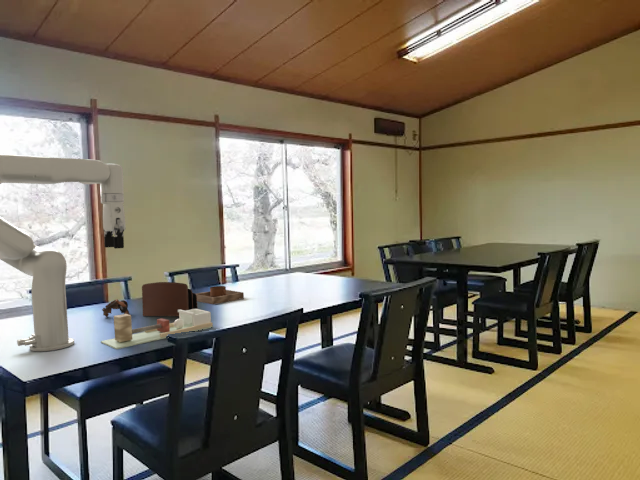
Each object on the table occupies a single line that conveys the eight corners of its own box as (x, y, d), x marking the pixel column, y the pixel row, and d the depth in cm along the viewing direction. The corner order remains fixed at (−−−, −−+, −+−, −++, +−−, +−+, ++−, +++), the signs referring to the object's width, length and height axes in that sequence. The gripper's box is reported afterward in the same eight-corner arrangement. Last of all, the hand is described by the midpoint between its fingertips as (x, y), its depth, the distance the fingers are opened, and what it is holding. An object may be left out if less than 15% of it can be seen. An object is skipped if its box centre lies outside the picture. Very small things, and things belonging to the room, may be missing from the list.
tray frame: (213, 304, 219) (213, 297, 218) (193, 300, 230) (192, 294, 230) (243, 298, 231) (243, 292, 230) (223, 295, 243) (222, 289, 242)
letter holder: (188, 316, 195) (186, 282, 194) (142, 316, 198) (140, 282, 197) (198, 311, 205) (196, 278, 204) (153, 311, 208) (152, 278, 207)
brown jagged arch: (126, 320, 193) (113, 304, 191) (107, 330, 195) (95, 314, 193) (138, 307, 205) (126, 291, 203) (121, 316, 207) (109, 301, 205)
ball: (177, 330, 170) (176, 320, 169) (172, 329, 172) (171, 319, 172) (186, 328, 172) (185, 318, 172) (181, 327, 175) (180, 317, 175)
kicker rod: (120, 342, 155) (119, 317, 154) (114, 339, 158) (113, 315, 158) (169, 331, 167) (168, 308, 166) (162, 329, 170) (161, 307, 170)
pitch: (116, 349, 150) (115, 329, 150) (100, 342, 159) (99, 323, 158) (212, 327, 175) (212, 310, 175) (195, 322, 184) (194, 306, 183)
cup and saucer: (236, 298, 233) (235, 285, 233) (221, 303, 223) (220, 289, 222) (215, 297, 238) (215, 284, 238) (200, 301, 228) (199, 288, 227)
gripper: (132, 198, 167) (133, 248, 167) (114, 200, 180) (116, 246, 180) (109, 198, 162) (111, 249, 162) (93, 200, 175) (95, 247, 175)
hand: (114, 247), depth 171 cm, fingers open, 9 cm apart
